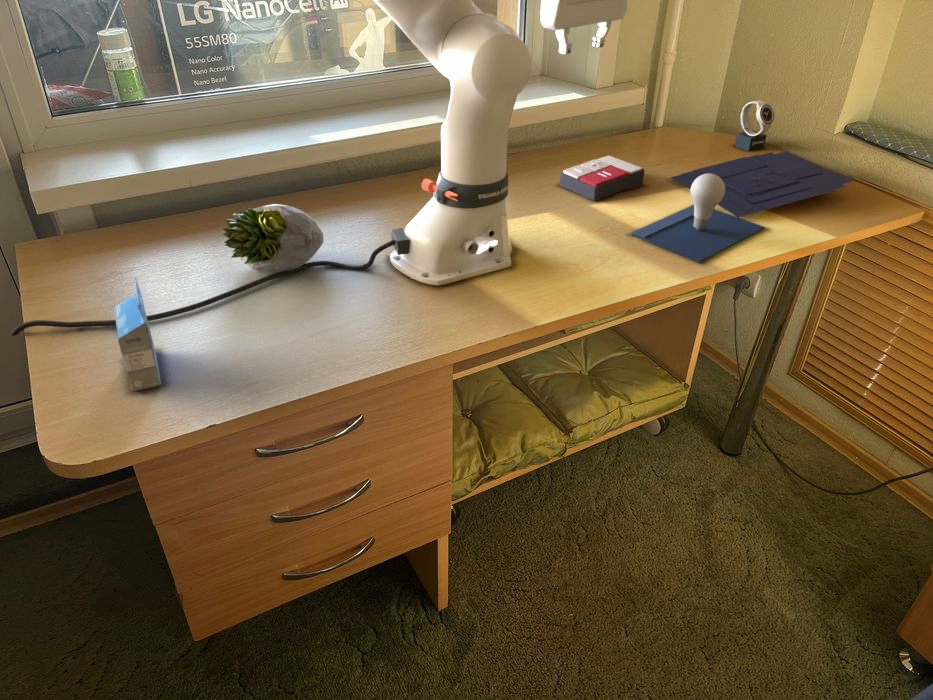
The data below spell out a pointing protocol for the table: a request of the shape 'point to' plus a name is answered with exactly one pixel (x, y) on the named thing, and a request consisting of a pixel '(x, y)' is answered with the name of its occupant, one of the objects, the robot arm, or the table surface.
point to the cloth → (697, 233)
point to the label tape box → (136, 343)
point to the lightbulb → (706, 198)
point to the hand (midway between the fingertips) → (581, 50)
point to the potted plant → (273, 238)
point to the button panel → (602, 177)
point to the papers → (767, 181)
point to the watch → (749, 137)
